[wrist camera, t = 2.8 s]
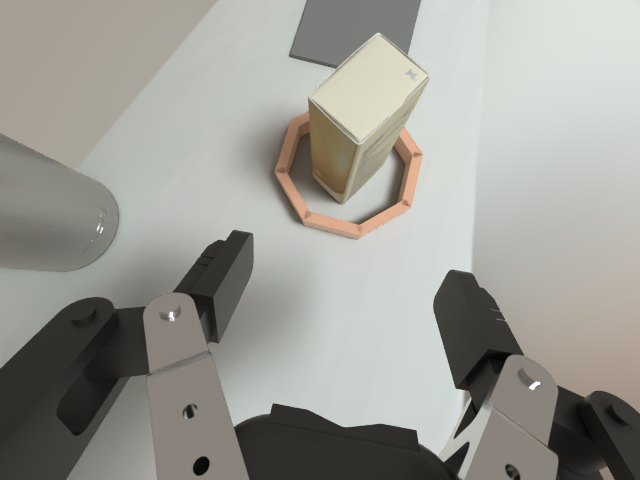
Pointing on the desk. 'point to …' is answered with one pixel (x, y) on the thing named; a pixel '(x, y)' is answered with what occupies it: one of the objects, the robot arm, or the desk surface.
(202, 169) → the desk surface
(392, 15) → the mat
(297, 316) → the desk surface
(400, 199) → the ring
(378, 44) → the skincare box
